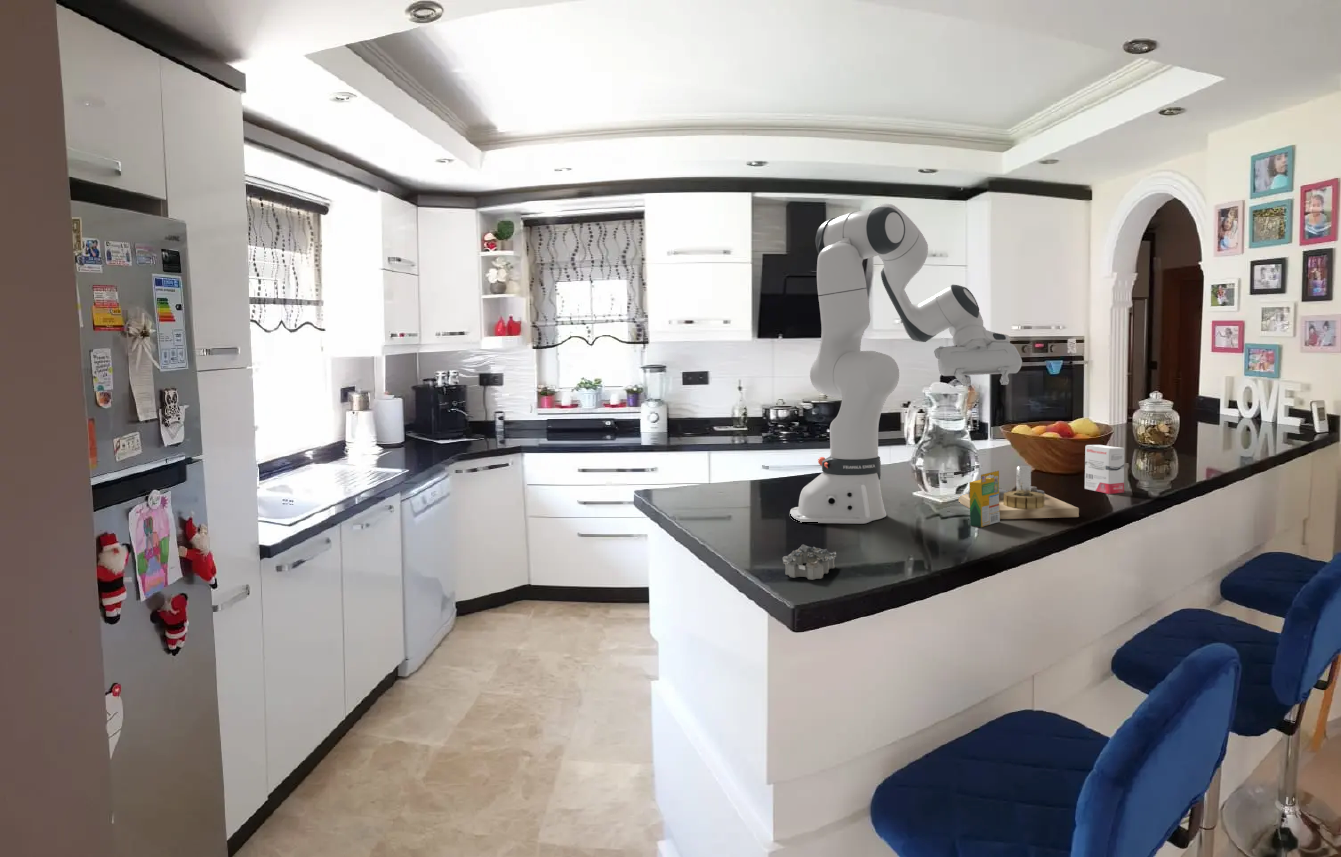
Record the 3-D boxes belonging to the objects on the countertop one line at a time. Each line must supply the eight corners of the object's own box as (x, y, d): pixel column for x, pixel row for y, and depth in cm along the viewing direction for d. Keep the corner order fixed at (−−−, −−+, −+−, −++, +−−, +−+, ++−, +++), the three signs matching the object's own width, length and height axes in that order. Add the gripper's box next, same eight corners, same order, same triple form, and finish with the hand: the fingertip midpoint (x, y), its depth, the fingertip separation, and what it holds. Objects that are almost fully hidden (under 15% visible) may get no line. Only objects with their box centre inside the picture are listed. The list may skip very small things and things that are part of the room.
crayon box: (987, 520, 169) (987, 469, 168) (1000, 522, 166) (1000, 470, 165) (969, 525, 164) (968, 473, 163) (981, 527, 162) (981, 474, 161)
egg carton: (818, 583, 129) (818, 559, 129) (778, 577, 133) (778, 554, 133) (840, 566, 138) (840, 545, 138) (802, 561, 142) (802, 540, 142)
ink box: (1125, 492, 192) (1126, 447, 191) (1108, 494, 191) (1109, 448, 190) (1099, 487, 200) (1099, 443, 199) (1083, 489, 199) (1083, 444, 198)
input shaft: (1019, 506, 172) (1019, 467, 171) (1014, 503, 175) (1014, 465, 174) (1032, 506, 172) (1033, 467, 171) (1027, 503, 175) (1027, 465, 174)
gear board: (987, 519, 169) (987, 499, 169) (958, 502, 189) (958, 484, 189) (1078, 516, 168) (1078, 497, 167) (1040, 499, 188) (1040, 481, 187)
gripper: (935, 338, 196) (946, 377, 187) (1015, 335, 195) (1031, 373, 186) (930, 355, 201) (941, 393, 192) (1008, 352, 200) (1023, 390, 191)
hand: (986, 383), depth 189 cm, fingers open, 8 cm apart
